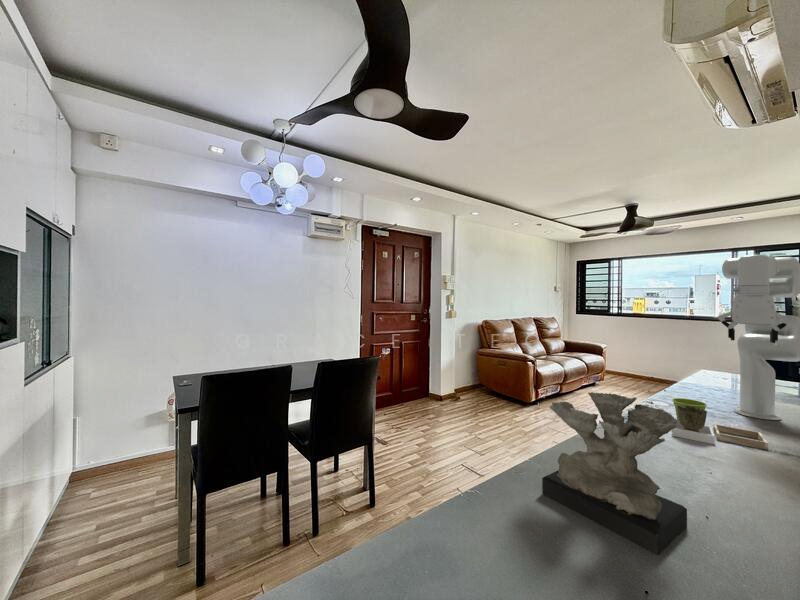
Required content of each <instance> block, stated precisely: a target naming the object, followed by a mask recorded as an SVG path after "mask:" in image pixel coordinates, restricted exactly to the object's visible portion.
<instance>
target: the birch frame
mask: <svg viewBox="0 0 800 600" xmlns="http://www.w3.org/2000/svg"><path fill="white" fill-rule="evenodd" d="M712 430H713V433H714V436H715V438H716V440H717V441H723V442H727V443H732V444H735V445H736V444H737V445H741V446H746V447H751V448H757V449H762V450H763V449H764V450H766V451H768V449H769V442H768V441H767V440H766V438H765V437H764V435H763V434H762V433H761V432H760V431H755V430H750V429H743V428H739V427H732V426H727V425H721V424H716V423H713V428H712ZM725 433H726V434H725ZM727 433H728V434H727ZM730 434H732V435H730ZM735 435H737V436H735ZM742 436H743V437H742ZM747 437H749V438H747ZM752 438H753V439H752ZM756 439H757V440H756Z"/></svg>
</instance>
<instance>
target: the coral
mask: <svg viewBox="0 0 800 600" xmlns="http://www.w3.org/2000/svg"><path fill="white" fill-rule="evenodd" d="M587 394H588V396H589V397H590V399H591V400H592V402H593V403H594V405H595V407H596V408H597V412H598V413H599V414H597V413H588V412H586V411H583V410H579V409H576V408H575V406H574V405H573V403H570V402H568V401H560V402H558V401H556V402H554V401H552V402H551V405H549V408H550V409H551V410H552V412H554V413H555V414H556V415H557V416H558V417H559V418H560V419H561V420H562V421H563V423H565V424H566V425H567V426H568V427H569V428H571V429H572V430H574V431H575V432H576V433H577V434H578V435H579V436H580V437H581V438H582V439H583V442H584V444H585V445H586V451H582V450H577V451H575V452H574V453H571V454H570V455H569V454H568V453H565V452H561V453H560V455H559V456H558V458H557V463H558V469H557V470H556V471H553V472H551V473H549V474H547V475H545V476H544V477H542V478H541V480H542V482H541V483H542V484H541V485H542V486H541V487H542V488H541V489H542V491H541V492H542V494H543V495H544V496H546V497H548V498H549V499H550V498H551V500H554V501H555V502H558V503H560V504H562V505H563V506H565V507H567V508H569V509H571V510H573V511H575V512H576V513H579V514H580V515H582V516H583V517H586V518H587V519H589V520H591V521H593V522H595V523H597V524H599V525H601V526H603V528H606V529H608V530H610V531H611V532H613V533H615V534H617V535H619V536H622V537H623V538H625V539H627V540H629V541H630V542H632V543H634V544H636V545H638V546H640V547H642V548H644V549H646V550H647V551H649V552H651V553H653V554H655V555H658V556H659V555H660V554H661V553H662V552H663V551H664V550H665V549H666V548H667V547H668V546H670V544H671V543H672V542H673V541H674V540H675V539H676V538H677V537H679V536H680V534H682V533H683V531H685V530H686V528H687V527H688V509H687V508H686V507H685V506H684V505H682V504H679V503H677V502H674V501H673V500H672V501H671V500H669V499H667V498H664V497H662V496H660V495H657V492H658V490H660V489H661V487H660V486H659V485H658V484H657V483H656V482H654V481H653V479H652V478H651V477H650V476H649V474H647V473H644V472H643V471H642V470H640V469H639V468H638V460H637V458H636V456H638V455H643V454H645V453H647V452H649V451H650V450H652V449H653V448H654V447H655V446H657V445H660V444H662V443H664V442H666V439H665V438H664V437H663V436H664V435H666V434H669V432H671V431H672V429H675V428H676V427H677V425H676V423H677V418H675V417H674V416H673V415H672V414H671V413H670V412H667V411H666V410H664V409H662V408H656V407H653V406H648V405H645V404H636V403H635V405H634V409H633V408H632V409H628V411H627V420H626V422H625V416H623V411H624V410H625V409H626V408H627V407H629V406H630V405H633V403H634V402H636V400H637V397H635V396H634V397H628V396H622V395H620V394H617V393H606V392H605V393H603V392H593V391H592V392H587ZM599 415H600V417H601V420H602V421H601V420H598V417H599ZM597 420H598V422H597ZM598 424H600V426H601V427H602V429H603V438H601V437H599V436H598V435H597V434H596V430H597V427H598ZM662 437H663V438H662Z"/></svg>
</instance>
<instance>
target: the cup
mask: <svg viewBox="0 0 800 600" xmlns="http://www.w3.org/2000/svg"><path fill="white" fill-rule="evenodd" d="M677 411H678V418H679V422H680V424H681V425H682V426H684V427H685V428H684V430H688V431H693V432H699V431H698V430H700V429H702V428H703V427H704V426H706V425H705V424H706V420H707V414H708V410H706V409H705V410H704V409H702V410H701V411H700V409H699V408H698V409H696V408H695V407H693V406H691V407H689V406H686V408H683V407H682V406H679V405H678V406H677Z"/></svg>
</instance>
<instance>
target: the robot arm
mask: <svg viewBox="0 0 800 600" xmlns="http://www.w3.org/2000/svg"><path fill="white" fill-rule="evenodd" d="M721 272H722V274H723V276H724V277H725V279H729V280H731V279H732V280H733V279H737V286H736V287H732V288H731V292H732V293H736V294H737V295H734V297H733V300H732V307H731V311H729V312H726V313H722V314H719V315H717V318H718V321H720V323H721V324H722V325H723V326H724V327H726V328H727V329H728V331H727V338H729V339H730V341H733V342H734V341H735V339H736V338H735V335H736V334H735V332H736V330H735V328H734V327H736V326H737V325H739V324H740V325H744V329H745V332H746V333H745V334H743V335H741V336H739V337H738V339H737V343H736V344H737V350H738V357H739V371H740V372H739V406H736V407H733V411H734V412H735V413H736V414H740V415H742V416H745V417H746V416H747V417H748V418H749V417H751V418H755V419H760V420H767V421H780V420H781V419H782V416H781V415H780V414H779V413H776V370H775V369H774V367H772V365H770V363H769V362H767V361H766V360H769V361H770V360H771V361H781V362H790V363H791V362H796V363H797V362H800V317H799V316H797V315H791V314H790V315H789V314H781V313H778V312H777V309H776V307H775V305H776V303H775V300H774V299H775V298H776V299H777V298H783V299H784V298H785V299H786V298H787V299H788V298H795V297H797V296H799V295H800V262H799V259H797V258H795V257H793V256H781V257H780V256H779V257H773V256H768V255H766V254H748V255H742V256H740V257H735V258H734V257H733V258H732V257H731V258H726V259H725V261H723V264H722V266H721ZM730 316H731V322H730V323H729V322H727V321H726V319H725V318H727V317H730Z"/></svg>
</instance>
